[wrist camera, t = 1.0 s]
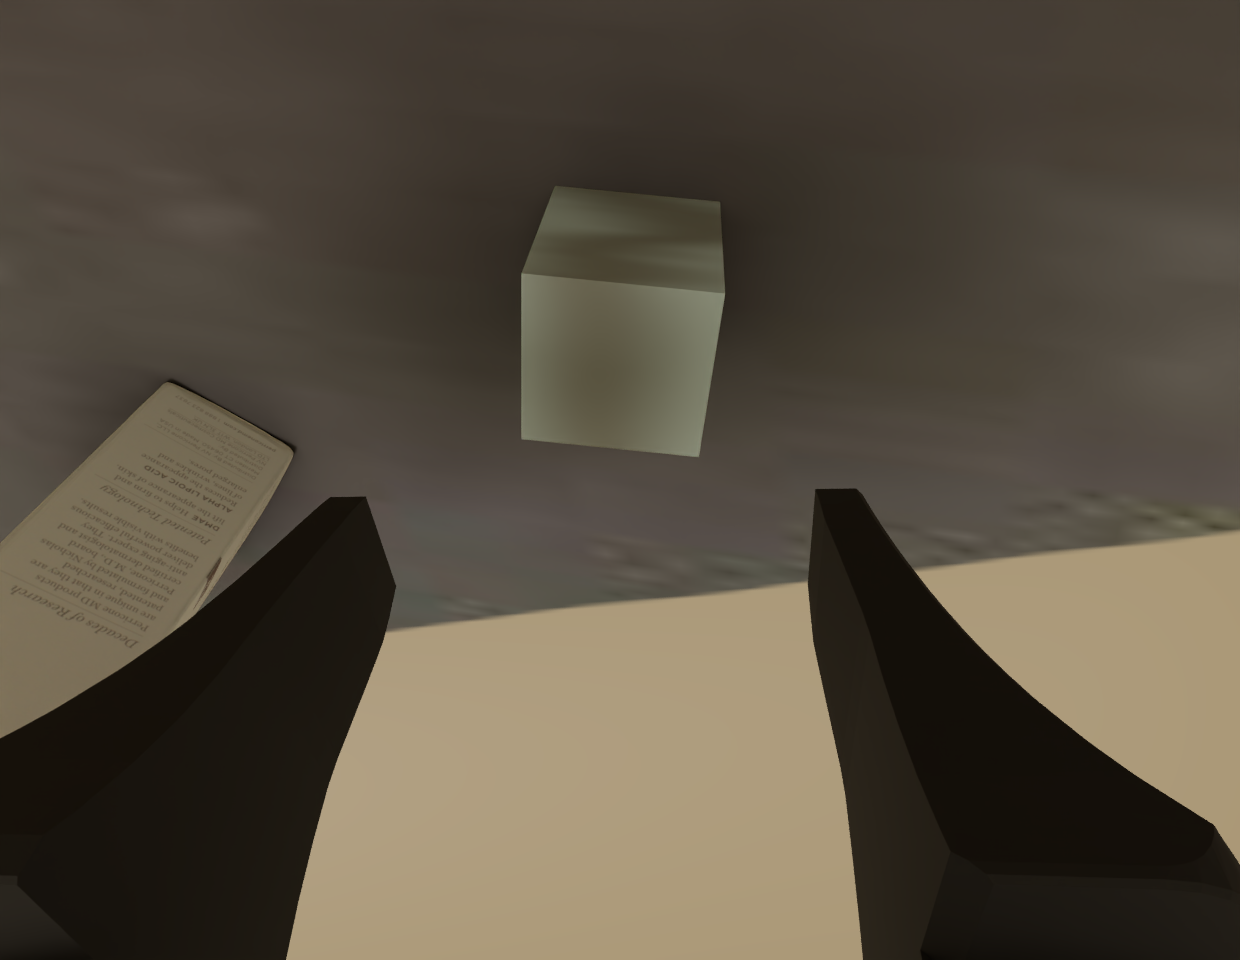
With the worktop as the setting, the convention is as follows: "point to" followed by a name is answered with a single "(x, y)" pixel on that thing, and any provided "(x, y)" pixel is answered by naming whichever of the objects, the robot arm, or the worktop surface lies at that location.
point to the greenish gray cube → (621, 320)
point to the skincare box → (127, 547)
